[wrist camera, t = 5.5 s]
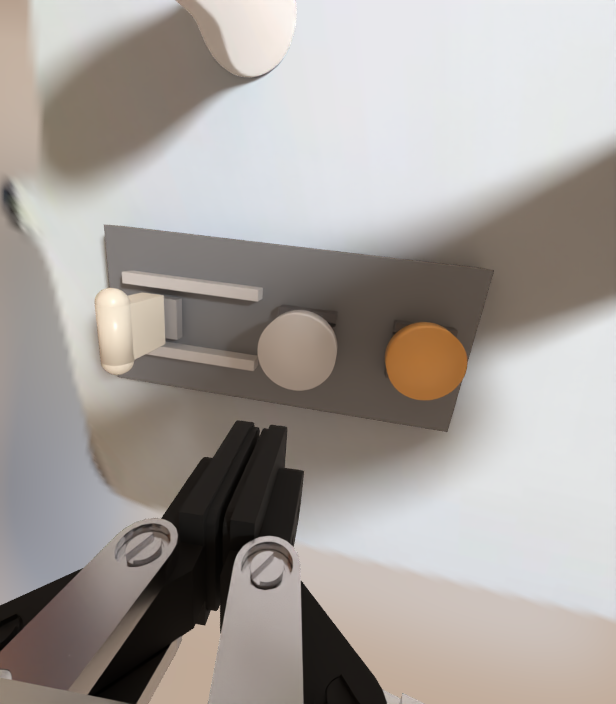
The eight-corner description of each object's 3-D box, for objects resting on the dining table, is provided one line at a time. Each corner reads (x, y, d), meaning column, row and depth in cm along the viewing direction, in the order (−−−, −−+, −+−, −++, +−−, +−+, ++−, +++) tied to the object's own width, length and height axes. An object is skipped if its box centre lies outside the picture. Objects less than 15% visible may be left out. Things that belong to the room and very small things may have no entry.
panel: (482, 268, 23) (501, 271, 20) (440, 418, 26) (451, 440, 23) (122, 226, 25) (91, 223, 22) (133, 368, 29) (107, 382, 26)
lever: (181, 281, 24) (125, 293, 18) (182, 351, 25) (131, 382, 20) (142, 276, 24) (75, 286, 18) (146, 346, 26) (86, 375, 20)
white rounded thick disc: (342, 312, 21) (341, 321, 18) (333, 379, 22) (330, 396, 20) (270, 302, 21) (259, 309, 19) (266, 369, 23) (255, 384, 21)
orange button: (463, 324, 22) (476, 334, 19) (445, 389, 23) (455, 405, 21) (390, 314, 22) (394, 322, 20) (377, 378, 24) (380, 393, 21)
